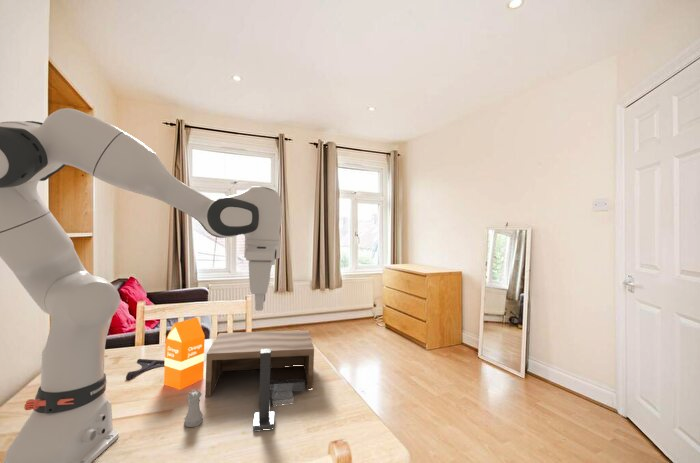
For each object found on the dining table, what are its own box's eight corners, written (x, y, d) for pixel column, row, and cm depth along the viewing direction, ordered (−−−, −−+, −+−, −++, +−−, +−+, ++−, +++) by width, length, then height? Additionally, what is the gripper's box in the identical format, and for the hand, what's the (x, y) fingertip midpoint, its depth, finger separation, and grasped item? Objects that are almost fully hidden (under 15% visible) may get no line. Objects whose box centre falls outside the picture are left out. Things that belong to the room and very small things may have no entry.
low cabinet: (312, 389, 103) (314, 348, 103) (205, 397, 96) (206, 353, 96) (307, 364, 122) (308, 330, 122) (218, 369, 115) (219, 333, 116)
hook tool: (307, 426, 83) (310, 353, 81) (252, 431, 80) (254, 355, 79) (303, 386, 101) (306, 325, 99) (259, 389, 98) (260, 326, 97)
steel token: (293, 405, 94) (294, 398, 94) (272, 408, 92) (272, 401, 92) (290, 395, 100) (291, 388, 100) (270, 397, 98) (271, 391, 98)
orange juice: (163, 384, 103) (165, 321, 104) (187, 373, 111) (189, 315, 112) (180, 389, 100) (182, 325, 100) (203, 378, 108) (205, 318, 108)
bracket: (107, 380, 106) (107, 372, 106) (139, 362, 121) (140, 355, 121) (148, 383, 105) (148, 375, 105) (176, 365, 120) (176, 357, 120)
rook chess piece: (184, 419, 84) (186, 389, 85) (203, 416, 86) (204, 386, 86) (182, 429, 80) (183, 397, 80) (202, 426, 82) (203, 394, 82)
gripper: (253, 248, 92) (251, 297, 91) (245, 253, 72) (242, 315, 71) (276, 249, 93) (274, 297, 93) (274, 253, 73) (272, 315, 73)
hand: (260, 305), depth 82 cm, fingers open, 8 cm apart
